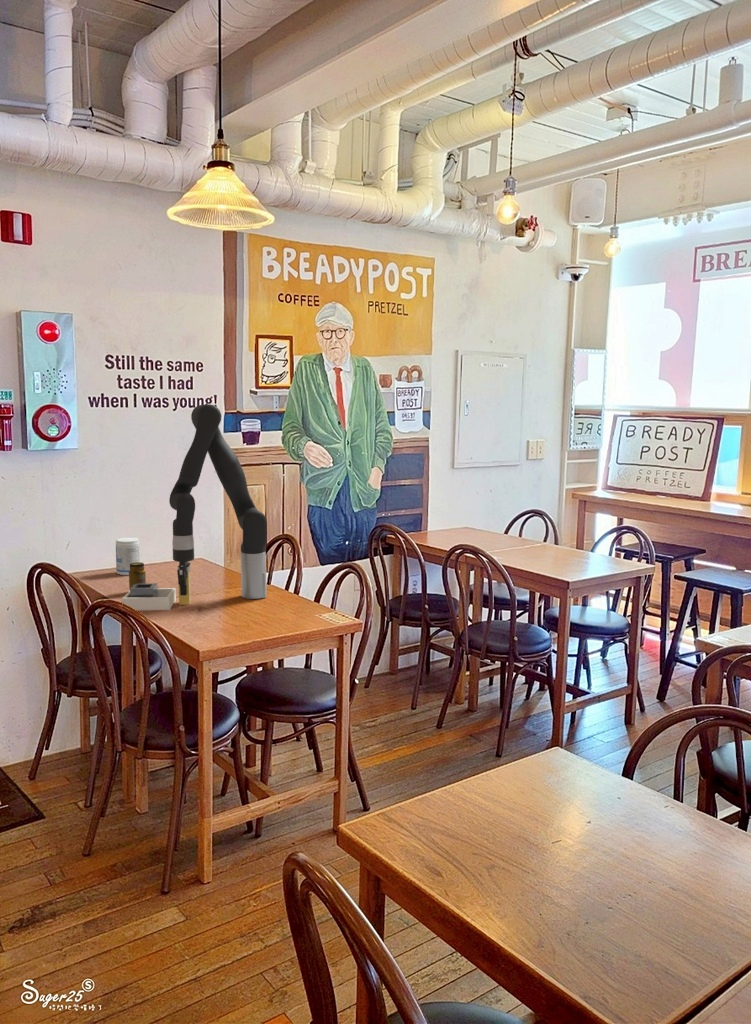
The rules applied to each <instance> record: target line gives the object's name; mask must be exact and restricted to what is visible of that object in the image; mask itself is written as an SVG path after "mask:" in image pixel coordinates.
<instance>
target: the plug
mask: <svg viewBox="0 0 751 1024" xmlns="http://www.w3.org/2000/svg"><path fill="white" fill-rule="evenodd" d="M185 576H186V575H185ZM181 581H184V579H181ZM191 599H192V597H191V571H190V572H188V579H187V594H186V595H180V585H179V584H178V605H180V606H181V605H183V606H184V605H185V606H186V605H187V606H188V605H190V604H191V601H192V600H191Z"/></svg>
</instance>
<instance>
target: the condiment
mask: <svg viewBox="0 0 751 1024" xmlns="http://www.w3.org/2000/svg"><path fill="white" fill-rule="evenodd" d="M146 578H147V577H146V570H145V563H144V562H141V561H140V562H135V563H131V564H130V571H129V575H128V582H129V583H128V588H129V590H128V592H129V591H130V588H131V587H132V586H133V585H134V584H144V583H147V582H146Z"/></svg>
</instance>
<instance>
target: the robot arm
mask: <svg viewBox="0 0 751 1024" xmlns="http://www.w3.org/2000/svg"><path fill="white" fill-rule="evenodd" d="M190 415H191V416H190V419H191V422H192V424H193V426H194V428H195V433H194V437H193V439H192V440H193V441H192V442H191V445H190V447H189V448H188V451H187V453H186V455H185V456H184V459H183V461H182V465H181V467H180V472H179V475H178V479H177V480H176V482H175V484H174V485H173V487H172V490H171V493H170V494H169V500H168V501H169V502H168V503H169V505H170V508H171V509H173V510H175V511H176V516H175V519H174V520H173V521H172V541H171V542H172V545H171V546H172V560H173V561H174V562H178V563H179V564H178V565H177V571H176V572H177V584H178V586H179V585H180V595H186V594H187V579H188V572H190V573H191V561H192V562H193V560H195V540H194V539H195V538H194V527H193V524H194V523H193V521H194V517H195V511H196V500H195V498H194V496H193V495H192V494H191V492H192V490H193V488H195V487H197V485H198V484H199V481H200V477H201V475H202V474H201V473H202V471H203V467H204V464H205V460H206V458H207V457H206V456H207V454H208V456H209V458H210V461H211V463H212V465H213V468H214V471H215V473H216V475H217V478H218V479H219V482H220V483H221V485H222V488H223V489H224V491H225V493H226V496H228V498H229V500H230V502H231V505H232V508H233V510H234V513H235V515H236V519H237V523H238V524H239V527H240V528H241V530H242V542H241V544H240V573H241V574H240V576H241V577H240V579H241V598H243V599H246V600H255V599H256V600H258V599H265V598H267V592H268V591H267V590H268V589H267V584H268V583H267V566H266V565H267V554H266V553H267V552H266V551H267V544H268V520H267V517H266V515H265V514H264V513H263V512H262V511H261V510H258V508H257V507H256V505H255V503H254V502H253V499H252V497H251V495H250V492H249V490H248V489H249V488H248V483H247V478H246V475H245V471H244V470H243V467H242V465H241V463H240V460H239V459H238V457H237V455H236V453H235V452H234V451H233V449H232V448H231V446H230V445H229V444H228V443H227V442H226V440H225V438H224V436H223V434H222V432H221V429H220V427H219V426H220V424H221V422H222V412H221V410H220V409H219V408H218V407H217V406H216V405H214V404H212V403H209V404H207V403H206V404H200V405H197V406H195V407H194V408H193V409H192V411H191V414H190ZM185 575H186V576H185ZM181 579H184V581H181Z"/></svg>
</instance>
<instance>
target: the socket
mask: <svg viewBox="0 0 751 1024" xmlns="http://www.w3.org/2000/svg"><path fill="white" fill-rule="evenodd" d="M130 597H158V583H155V582H152V583H151V582H150V583H147V582H146V583H144V584H134V585H133V586H132V587H131V588H130Z"/></svg>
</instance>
